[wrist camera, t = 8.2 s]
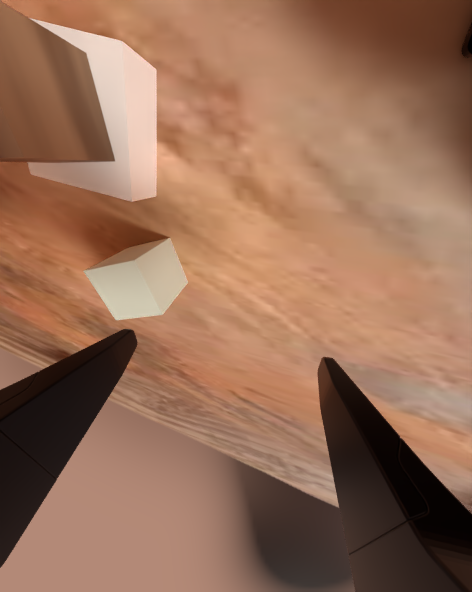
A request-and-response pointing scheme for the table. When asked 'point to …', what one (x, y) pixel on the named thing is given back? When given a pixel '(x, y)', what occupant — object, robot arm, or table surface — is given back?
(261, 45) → the table surface
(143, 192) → the ceramic plinth
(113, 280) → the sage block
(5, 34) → the walnut block
